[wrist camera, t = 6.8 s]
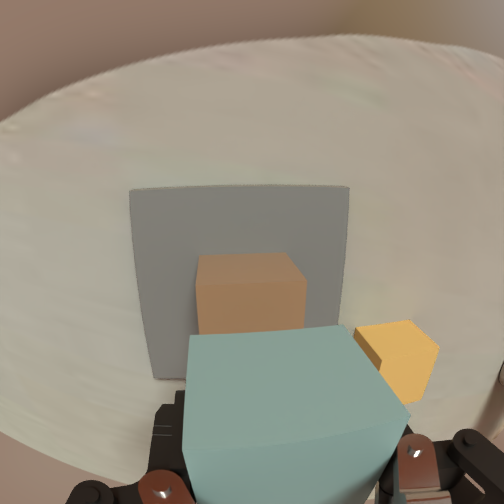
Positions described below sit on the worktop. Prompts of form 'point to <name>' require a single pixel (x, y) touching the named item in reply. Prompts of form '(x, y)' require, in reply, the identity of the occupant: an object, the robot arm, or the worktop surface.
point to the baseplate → (225, 232)
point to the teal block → (286, 418)
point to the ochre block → (400, 356)
